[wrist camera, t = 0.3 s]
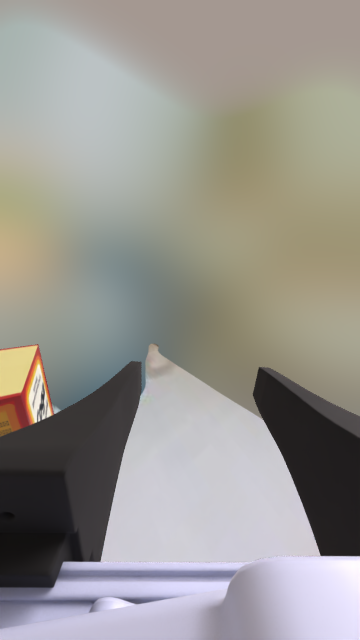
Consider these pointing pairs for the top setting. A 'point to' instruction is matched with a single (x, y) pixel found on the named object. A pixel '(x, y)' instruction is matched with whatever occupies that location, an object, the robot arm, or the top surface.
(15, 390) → the baking soda box
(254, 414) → the top surface
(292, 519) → the top surface
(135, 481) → the top surface
